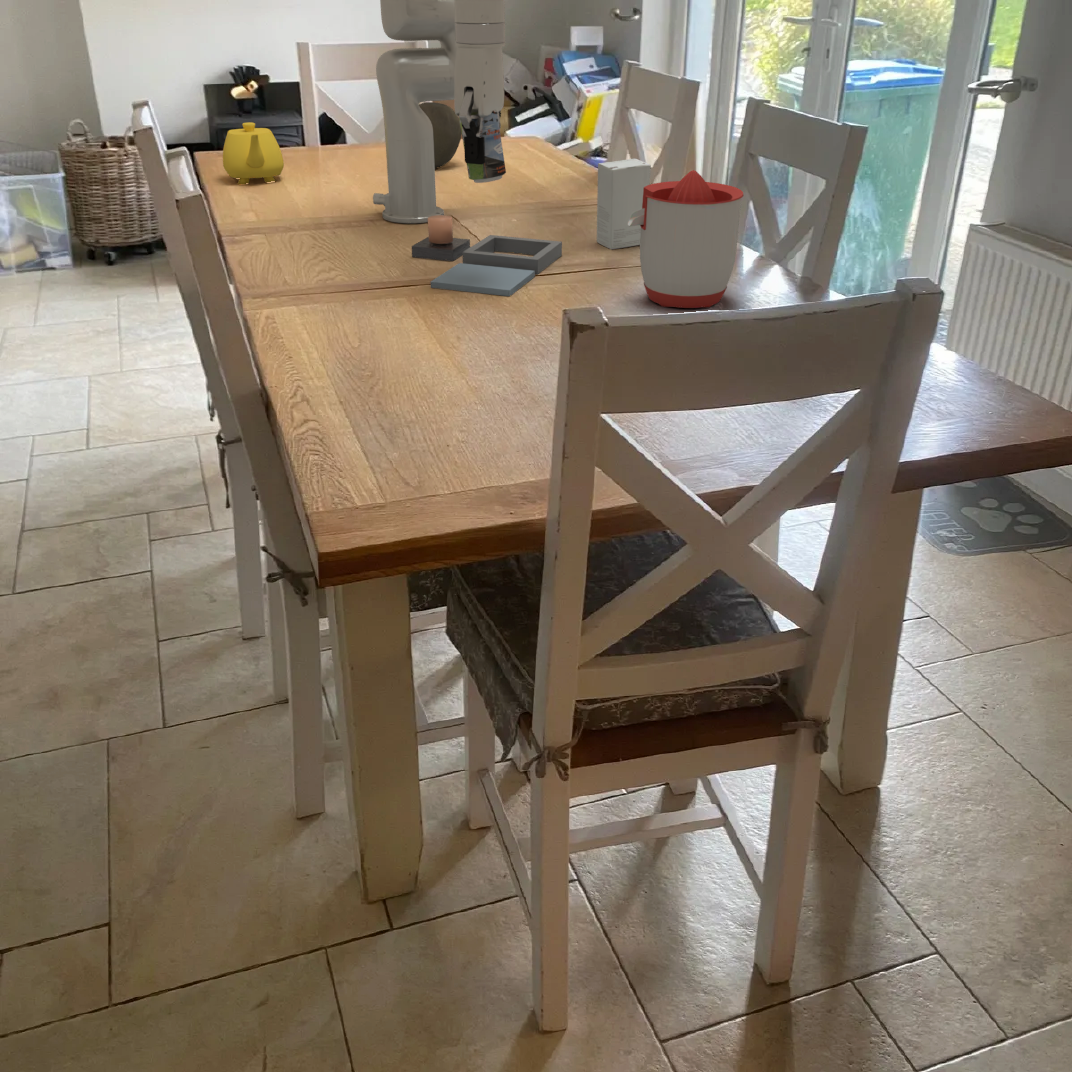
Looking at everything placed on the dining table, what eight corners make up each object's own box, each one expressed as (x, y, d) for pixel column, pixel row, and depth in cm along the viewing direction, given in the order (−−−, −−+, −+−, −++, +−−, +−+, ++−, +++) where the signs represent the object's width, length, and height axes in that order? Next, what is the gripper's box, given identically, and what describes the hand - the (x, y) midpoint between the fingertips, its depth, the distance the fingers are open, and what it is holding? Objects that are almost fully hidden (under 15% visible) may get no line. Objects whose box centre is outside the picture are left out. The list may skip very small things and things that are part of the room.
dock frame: (462, 266, 188) (462, 252, 187) (490, 248, 199) (490, 234, 197) (537, 274, 184) (537, 259, 183) (561, 255, 195) (561, 241, 193)
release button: (424, 242, 193) (423, 219, 191) (434, 236, 197) (433, 214, 195) (447, 244, 192) (446, 221, 190) (456, 238, 195) (456, 216, 193)
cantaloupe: (460, 172, 260) (458, 106, 252) (402, 172, 260) (398, 106, 253) (464, 161, 272) (462, 98, 265) (409, 161, 272) (405, 98, 265)
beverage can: (501, 186, 169) (500, 105, 163) (456, 184, 170) (453, 104, 164) (510, 178, 174) (509, 100, 169) (466, 177, 176) (464, 98, 170)
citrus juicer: (622, 284, 179) (628, 159, 169) (726, 285, 178) (738, 160, 168) (626, 313, 165) (632, 180, 155) (739, 315, 165) (752, 181, 155)
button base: (412, 257, 193) (411, 246, 192) (430, 246, 200) (430, 235, 199) (452, 261, 191) (452, 250, 190) (470, 250, 197) (469, 239, 196)
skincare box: (632, 238, 206) (636, 157, 198) (648, 245, 201) (653, 163, 194) (594, 243, 202) (596, 161, 195) (609, 250, 198) (612, 167, 190)
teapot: (280, 171, 261) (274, 116, 254) (291, 188, 244) (285, 129, 238) (222, 175, 257) (214, 118, 250) (230, 192, 240) (222, 132, 234)
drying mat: (430, 287, 177) (430, 281, 176) (459, 268, 187) (459, 263, 186) (509, 296, 173) (509, 290, 172) (534, 276, 183) (534, 270, 182)
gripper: (478, 30, 170) (481, 149, 179) (434, 39, 156) (439, 168, 165) (522, 31, 168) (523, 152, 177) (482, 41, 154) (484, 171, 163)
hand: (482, 158), depth 171 cm, fingers closed on beverage can, 6 cm apart
